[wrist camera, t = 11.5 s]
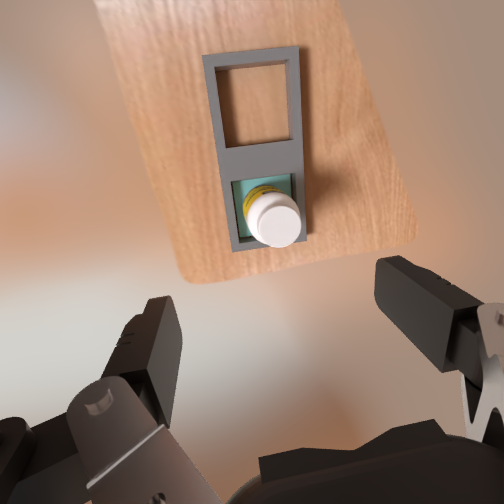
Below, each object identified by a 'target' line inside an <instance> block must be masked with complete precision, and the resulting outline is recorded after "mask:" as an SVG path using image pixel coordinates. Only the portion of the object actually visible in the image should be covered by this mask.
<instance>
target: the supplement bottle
mask: <svg viewBox="0 0 504 504" xmlns="http://www.w3.org/2000/svg"><path fill="white" fill-rule="evenodd" d="M242 207H243V214H244V217H245V220H246V222H247V225H248V228H249V230H250V232H251V233H252V235H253V236H254V237H255V238H256V239H257V240H258V241H260V242H261V243H264V244H267V245H269V246H271V247H275V248H282V247H286V246H288V245H290V244H292V243H293V242H294V241H295V240H296V239H297V238H298V236H299V234H300V231H301V219H300V212H299V209H298V206H297V205H296V203H295V202H294V201H293V199H292V198H290V197H289V196H288V195H286V194H285V193H284V192H282V191H281V190H279V189H278V188H276V187H274V186H272V185H266V184H265V185H258V186H256V187H254V188H252V189H251V190H250V191H249V192H248V193H247V194H246V196H245V198H244V200H243V206H242Z"/></svg>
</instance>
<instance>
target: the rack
mask: <svg viewBox="0 0 504 504" xmlns="http://www.w3.org/2000/svg"><path fill="white" fill-rule="evenodd" d="M202 59H203V66H204V72H205V79H206V85H207V92H208V98H209V105H210V111H211V118H212V124H213V131H214V137H215V144H216V150H217V157H218V163H219V170H220V176H221V182H222V189H223V195H224V202H225V208H226V215H227V221H228V228H229V234H230V241H231V247H232V252H238V251H244V250H251V249H257V248H264V247H270V246H269V245H267V244H264V243H261V242H260V241H258V240H257V239H256V238H255V237H247V236H253V235H252V233H251V232H250V230H249V228H248V225H247V222H246V220H245V217H244V214H243V207H242V206H243V200H244V198H245V196H246V194H247V193H248V192H249V191H250V190H251V189H252V188H254V187H256V186H258V185H265V184H266V185H272V186H274V187H276V188H278V189H279V190H281V191H282V192H284V193H285V194H286V195H288V196H289V197H290V198H292V197H291V180H290V173H292V191H293V201H294V202H295V203H296V205H297V206H298V209H299V212H300V219H301V231H300V234H299V236H298V238H297V239H296V240H295V241H294V242H293V243H296V242H303V241H307V233H306V210H305V186H304V162H303V138H302V114H301V90H300V66H299V46H291V47H281V48H271V49H261V50H252V51H242V52H232V53H222V54H212V55H202ZM278 64H285V71H286V88H287V105H288V122H289V139H290V140H286V141H278V142H271V143H263V144H255V145H247V146H239V147H231V148H226V147H225V140H224V133H223V126H222V119H221V112H220V105H219V97H218V90H217V83H216V76H215V71H220V70H230V69H239V68H249V67H258V66H268V65H278ZM282 174H283V175H282ZM275 175H276V176H275ZM268 176H269V177H268ZM260 177H261V178H260ZM253 178H254V179H253ZM245 179H246V180H245ZM238 180H239V181H238ZM231 181H232V185H233V192H234V199H235V206H236V214H237V221H238V228H239V235H240V237H247V238H241V239H238V231H237V224H236V217H235V210H234V203H233V196H232V189H231Z"/></svg>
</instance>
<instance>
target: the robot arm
mask: <svg viewBox="0 0 504 504" xmlns="http://www.w3.org/2000/svg"><path fill="white" fill-rule="evenodd" d="M374 296H375V300H376V303H377V305H378V307H379V308H380V310H381V311H382V312H383V313H384V314H385V315H386V316H387V317H388V318H389V319H390V320H391V321H392V322H393V323H394V324H395V325H396V326H397V327H398V328H399V329H400V330H401V331H402V332H403V333H404V334H405V335H406V337H408V339H409V340H410V341H411V342H412V343H413V344H414V345H415V346H416V347H417V348H418V349H419V350H420V351H421V352H422V353H423V354H424V355H425V356H426V357H427V358H428V359H429V360H430V361H431V362H432V363H433V364H434V365H435V366H436V367H437V368H438V370H439V371H441V372H442V373H444V372H449V371H454V370H459V371H461V372H462V377H461V391H462V400H463V408H464V417H465V426H466V438H465V437H461V436H455V435H448V434H445V432H444V431H443V430H442V429H441V427H440V426H439V425H438V423H437V422H436V421H435V420H434V419H431V420H427V421H422V422H418V423H413V424H408V425H404V426H400V427H395V428H392V429H390V430H388V431H386V432H385V433H383V434H381V435H380V436H378V437H376V438H375V439H373V440H371V441H369V442H368V443H366V444H364V445H363V446H361V447H359V448H357V449H355V450H332V449H316V448H299V449H295V450H290V451H286V452H281V453H277V454H272V455H268V456H263V457H259V458H258V459H259V466H260V473H261V474H259V475H257V476H256V477H254V478H252V479H251V480H249V482H247V483H246V484H245V485H243V486H242V487H241V488H240V489H239V490H238V491H237V492H235V494H233V496H232V497H231V498H230V499H229V500H228V502H227V503H226V504H504V304H503V303H487V304H485V303H483V302H481V301H480V300H478V299H476V298H475V297H473V296H471V295H470V294H468V293H467V292H465V291H463V290H462V289H460V288H458V287H457V286H455V285H451V283H450V282H449V281H447V280H445V279H442V278H441V277H440V276H439V275H437V274H435V273H434V272H432V271H431V270H428V269H425V268H422V267H419V266H416V265H414V264H413V263H411V262H409V261H408V260H406V259H405V258H403V257H402V256H399V255H397V256H392V257H386V258H381V259H378V260H377V263H376V272H375V291H374ZM116 345H117V347H115V349H114V351H113V353H112V355H111V357H110V359H109V361H108V363H107V365H106V367H105V370H104V372H103V374H102V376H101V378H100V379H99V380H97V381H95V382H93V383H91V384H90V385H88V386H87V387H85V388H84V389H83V390H82V391H80V392H79V393H78V394H77V395H76V396H75V397H74V399H73V400H72V402H71V403H70V404H69V406H68V409H67V412H65V413H63V414H61V415H59V416H56V417H54V418H52V419H50V420H48V421H45V422H43V423H41V424H39V425H36V426H34V427H32V428H30V427H29V426H28V424H27V423H26V421H25V420H24V419H23V418H20V417H10V418H6V419H2V420H0V504H84V503H86V502H88V501H90V500H91V502H92V504H223V502H222V501H221V500H220V498H219V497H218V496H217V494H216V493H215V492H214V490H213V489H212V488H211V486H210V485H209V484H208V482H207V481H206V480H205V478H204V477H203V476H202V474H201V473H200V472H199V470H198V469H197V468H196V466H195V465H194V464H193V462H192V461H191V460H190V458H189V457H188V456H187V454H186V453H185V452H184V450H183V449H182V448H181V446H180V445H179V444H178V442H177V441H176V440H175V439H174V437H173V436H172V434H171V433H170V432H169V430H168V429H169V428H170V422H171V415H172V409H173V402H174V395H175V389H176V382H177V376H178V370H179V364H180V357H181V350H182V332H181V328H180V324H179V321H178V318H177V314H176V310H175V307H174V304H173V300H172V298H171V296H163V297H157V298H152V299H149V300H148V302H147V304H146V307H145V309H144V312H143V314H138V315H135V316H134V317H133V318H132V319H131V320H130V321H129V322H128V323H127V324H126V325H125V328H124V330H123V332H122V334H121V338H119V340H118V342H117V344H116Z"/></svg>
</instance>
